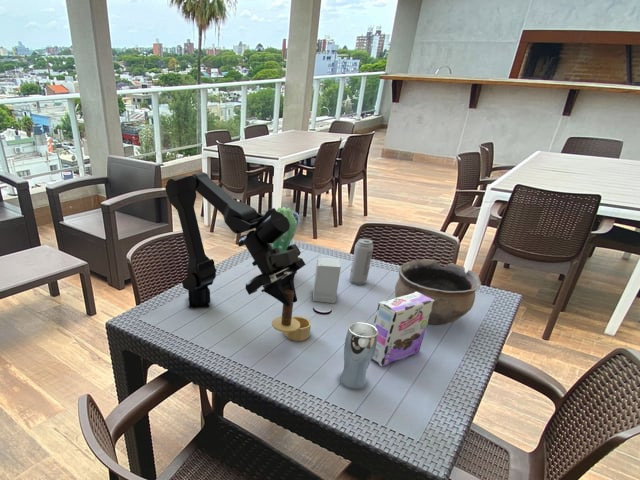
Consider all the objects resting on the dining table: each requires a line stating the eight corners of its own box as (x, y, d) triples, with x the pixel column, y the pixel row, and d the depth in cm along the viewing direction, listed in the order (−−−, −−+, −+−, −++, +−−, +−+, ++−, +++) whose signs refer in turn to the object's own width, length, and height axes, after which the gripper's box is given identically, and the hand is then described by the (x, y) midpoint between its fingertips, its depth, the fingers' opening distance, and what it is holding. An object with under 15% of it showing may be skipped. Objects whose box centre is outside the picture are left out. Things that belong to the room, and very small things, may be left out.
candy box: (381, 367, 112) (395, 311, 103) (365, 356, 116) (377, 301, 107) (419, 353, 117) (436, 299, 108) (402, 343, 122) (417, 290, 113)
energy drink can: (352, 276, 159) (360, 236, 151) (368, 280, 157) (377, 240, 148) (346, 282, 155) (353, 241, 147) (362, 286, 152) (370, 245, 144)
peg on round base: (275, 335, 114) (279, 299, 108) (268, 321, 120) (271, 286, 115) (303, 333, 115) (308, 297, 109) (294, 319, 121) (298, 284, 116)
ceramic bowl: (475, 317, 134) (492, 272, 126) (450, 346, 120) (467, 297, 112) (405, 295, 147) (416, 253, 139) (376, 318, 133) (386, 273, 125)
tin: (292, 342, 122) (293, 330, 120) (280, 330, 127) (281, 318, 125) (313, 338, 124) (315, 326, 122) (301, 326, 129) (302, 314, 127)
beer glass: (334, 373, 110) (343, 322, 102) (361, 372, 110) (372, 321, 102) (343, 391, 104) (353, 338, 96) (371, 389, 104) (384, 336, 96)
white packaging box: (335, 303, 142) (341, 267, 135) (312, 301, 143) (316, 265, 136) (334, 293, 148) (340, 258, 141) (312, 291, 149) (317, 256, 142)
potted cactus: (300, 286, 153) (309, 215, 139) (257, 285, 153) (260, 214, 139) (295, 268, 166) (302, 202, 152) (254, 268, 166) (257, 201, 152)
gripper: (256, 245, 101) (290, 303, 101) (303, 227, 112) (334, 279, 112) (231, 267, 110) (262, 320, 110) (277, 248, 121) (305, 296, 121)
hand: (292, 303), depth 113 cm, fingers closed on peg on round base, 2 cm apart
